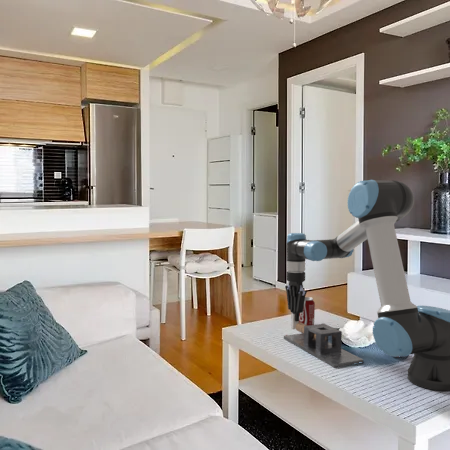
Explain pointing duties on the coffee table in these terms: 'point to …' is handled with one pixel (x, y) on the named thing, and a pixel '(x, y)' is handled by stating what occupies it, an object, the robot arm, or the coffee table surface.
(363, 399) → the coffee table surface
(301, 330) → the wooden dowel
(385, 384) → the coffee table surface
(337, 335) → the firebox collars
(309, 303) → the soda can
